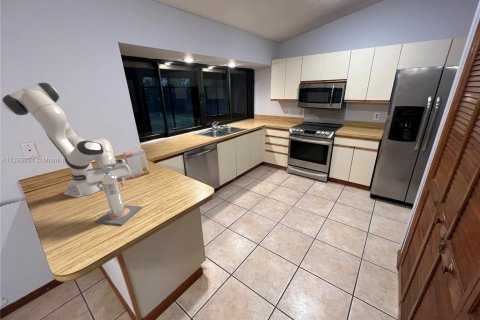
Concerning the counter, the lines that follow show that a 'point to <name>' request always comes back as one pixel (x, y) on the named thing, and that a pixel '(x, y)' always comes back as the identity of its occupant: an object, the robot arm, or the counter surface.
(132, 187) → the counter surface
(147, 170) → the cracker box
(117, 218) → the spot mat
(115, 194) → the water bottle
